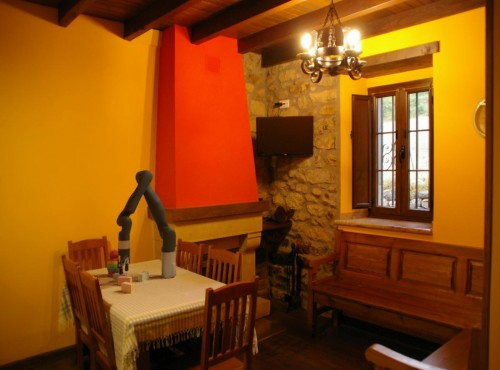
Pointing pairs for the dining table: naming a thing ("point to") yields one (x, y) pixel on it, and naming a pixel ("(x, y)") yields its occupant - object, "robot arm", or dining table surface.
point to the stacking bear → (112, 263)
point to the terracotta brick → (124, 279)
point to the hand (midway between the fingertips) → (123, 272)
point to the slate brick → (116, 275)
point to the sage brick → (143, 276)
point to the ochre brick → (128, 287)
